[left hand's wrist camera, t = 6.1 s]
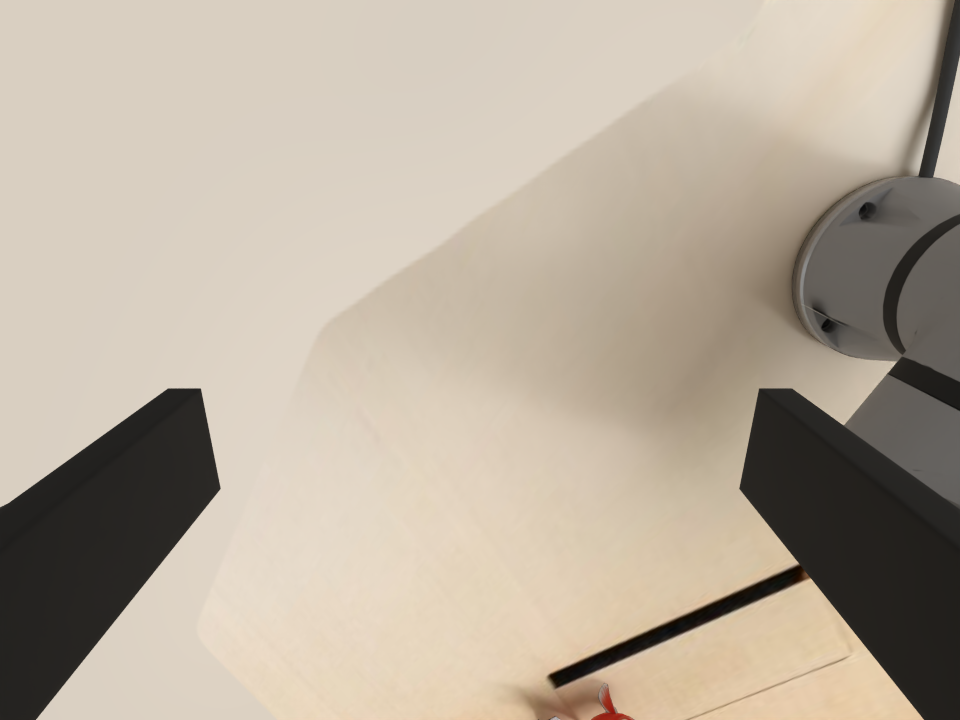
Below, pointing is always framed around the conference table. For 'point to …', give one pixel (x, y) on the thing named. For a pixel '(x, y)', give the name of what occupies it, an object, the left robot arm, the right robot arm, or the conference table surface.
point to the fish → (606, 707)
